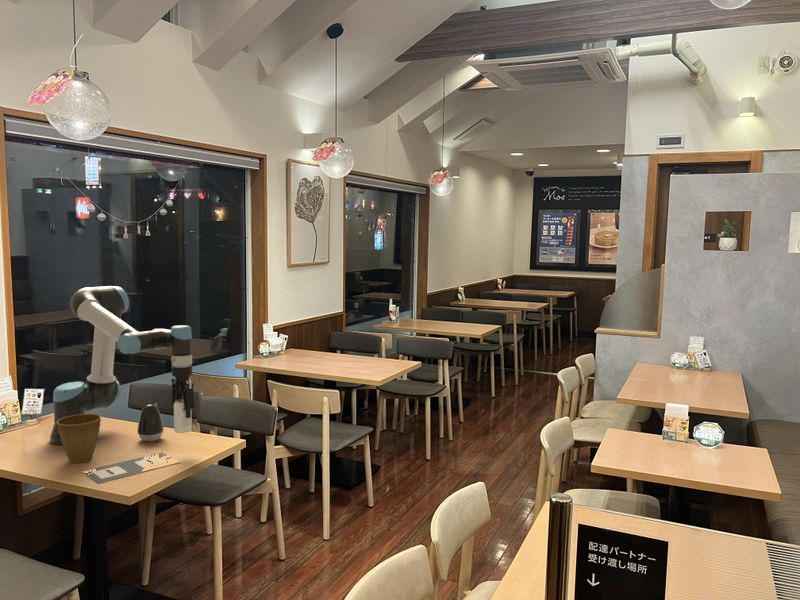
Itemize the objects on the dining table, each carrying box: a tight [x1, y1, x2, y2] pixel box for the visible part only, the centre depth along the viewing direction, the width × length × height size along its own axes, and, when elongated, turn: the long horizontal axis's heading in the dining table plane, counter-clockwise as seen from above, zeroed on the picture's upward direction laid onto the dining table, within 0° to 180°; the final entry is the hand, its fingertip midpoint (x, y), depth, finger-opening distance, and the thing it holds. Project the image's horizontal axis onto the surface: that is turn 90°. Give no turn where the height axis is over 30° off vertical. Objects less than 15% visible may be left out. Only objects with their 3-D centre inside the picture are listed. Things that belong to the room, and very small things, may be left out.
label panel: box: [83, 452, 172, 485], centre depth 230 cm, size 16×30×1 cm, turn 136°
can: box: [173, 398, 193, 434], centre depth 243 cm, size 6×6×12 cm
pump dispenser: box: [137, 403, 165, 443], centre depth 261 cm, size 10×10×15 cm
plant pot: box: [57, 413, 102, 464], centre depth 236 cm, size 15×15×16 cm
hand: (183, 423), depth 243 cm, fingers closed on can, 6 cm apart
